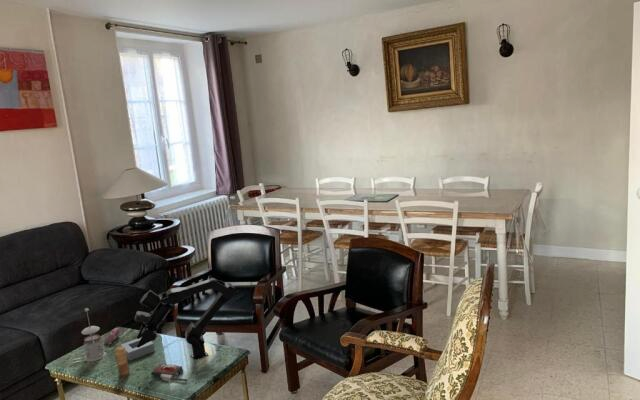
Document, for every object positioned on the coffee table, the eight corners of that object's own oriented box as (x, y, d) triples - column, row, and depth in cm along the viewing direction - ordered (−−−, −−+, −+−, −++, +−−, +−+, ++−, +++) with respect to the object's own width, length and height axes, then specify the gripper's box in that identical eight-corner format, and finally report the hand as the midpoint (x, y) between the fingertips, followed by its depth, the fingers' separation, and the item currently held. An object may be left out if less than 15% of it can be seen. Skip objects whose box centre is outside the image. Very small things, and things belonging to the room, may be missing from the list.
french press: (84, 363, 227) (74, 314, 223) (85, 353, 238) (75, 306, 233) (106, 357, 231) (97, 309, 227) (106, 347, 242) (97, 301, 237)
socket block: (154, 351, 233) (153, 343, 233) (129, 360, 226) (128, 352, 225) (146, 343, 243) (144, 335, 242) (121, 352, 235) (120, 344, 235)
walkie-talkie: (147, 379, 209) (185, 384, 201) (146, 370, 208) (184, 375, 201) (161, 368, 217) (198, 373, 209) (159, 359, 216) (196, 364, 209)
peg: (131, 374, 213) (126, 348, 211) (121, 378, 211) (116, 352, 208) (128, 371, 217) (123, 345, 214) (118, 375, 214) (113, 349, 212)
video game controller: (111, 347, 246) (115, 335, 245) (102, 343, 246) (106, 332, 244) (119, 338, 256) (123, 326, 254) (111, 335, 255) (115, 323, 254)
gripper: (143, 298, 221) (122, 326, 219) (144, 312, 204) (120, 342, 202) (164, 310, 225) (143, 337, 223) (166, 325, 208) (143, 355, 206)
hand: (137, 342), depth 214 cm, fingers open, 9 cm apart
